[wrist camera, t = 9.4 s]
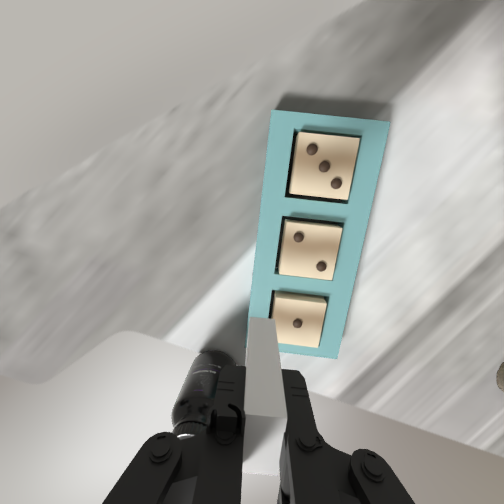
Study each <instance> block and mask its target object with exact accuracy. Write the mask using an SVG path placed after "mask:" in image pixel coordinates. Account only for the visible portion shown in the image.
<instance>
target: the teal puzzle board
mask: <svg viewBox="0 0 504 504" xmlns="http://www.w3.org/2000/svg"><path fill="white" fill-rule="evenodd" d="M389 127H390V122H388V121H378V120H368V119H359V118H349V117H339V116H329V115H319V114H310V113H300V112H290V111H280V110H271V119H270V128H269V137H268V145H267V154H266V163H265V172H264V181H263V190H262V198H261V207H260V216H259V225H258V234H257V243H256V252H255V260H254V269H253V278H252V287H251V296H250V305H249V313H248V322H247V331H246V340H245V348H247V339H248V329H249V319H250V317H257V318H268V315H269V308H270V300H271V293H272V290H279V291H287V292H296V293H304V294H313V295H321V296H324V299H325V301H326V303H327V305H326V310H325V315H324V320H323V325H322V330H321V335H320V340H319V345H318V348H315V347H307V346H299V345H291V344H283V343H278V348H279V352H284V353H292V354H300V355H308V356H316V357H324V358H332V359H337V357H338V353H339V348H340V344H341V339H342V335H343V330H344V326H345V322H346V317H347V313H348V308H349V304H350V299H351V295H352V290H353V286H354V282H355V277H356V273H357V268H358V264H359V259H360V255H361V251H362V246H363V242H364V237H365V233H366V228H367V224H368V220H369V215H370V211H371V206H372V202H373V197H374V193H375V189H376V184H377V180H378V175H379V171H380V166H381V162H382V158H383V153H384V149H385V144H386V140H387V135H388V131H389ZM299 132H304V133H314V134H323V135H333V136H343V137H352V138H360V141H359V146H358V151H357V156H356V161H355V166H354V171H353V176H352V181H351V186H350V191H349V196H348V200H344V199H342V203H338V202H329V201H320V200H311V199H302V198H293V197H285V190H286V183H287V175H288V168H289V161H290V153H291V146H292V139H293V133H297V134H298V133H299ZM282 216H290V217H299V218H308V219H317V220H326V221H335V222H338V226H339V227H341V228H342V233H341V238H340V243H339V248H338V253H337V258H336V263H335V268H334V273H333V278H332V280H324V279H316V278H307V277H299V276H290V275H282V274H279V269H278V268H275V264H276V256H277V249H278V242H279V234H280V227H281V220H282Z"/></svg>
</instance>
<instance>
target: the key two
mask: <svg viewBox="0 0 504 504" xmlns="http://www.w3.org/2000/svg"><path fill="white" fill-rule="evenodd" d="M341 233H342V228H341V227H339V226H338V225H334V224H325V223H316V222H307V221H298V220H289V219H285V223H284V230H283V237H282V244H281V252H280V259H279V266H278V269H279V274H282V275H290V276H299V277H307V278H316V279H324V280H332V278H333V273H334V268H335V263H336V258H337V253H338V248H339V243H340V238H341Z"/></svg>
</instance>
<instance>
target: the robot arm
mask: <svg viewBox="0 0 504 504" xmlns="http://www.w3.org/2000/svg"><path fill="white" fill-rule="evenodd" d="M279 467H280V480H281V482H280V488H279V494H278V500H277V504H415V503H414V501H413V500H412V498H411V497H410V495H409V494H408V493H407V491H406V489H405V488H404V486H403V485H402V484H401V482H400V481H399V479H398V478H397V476H396V475H395V473H394V472H393V470H392V469H391V467H390V466H389V465H388V464H387V462H386V461H385V460H384V459H383V458H382V457H381V456H379V455H378V454H376V453H375V452H373V451H370V450H368V449H358V450H356V451H354V452H353V454H352V456H351V455H349V454H346V453H344V452H342V451H339V450H337V449H335V448H333V447H331V446H330V445H328V444H327V443H326V442H325V441H324V439H323V437H322V436H321V435H320V434H319V432H318V430H317V428H316V424H315V419H314V415H313V411H312V407H311V403H310V399H309V394H308V390H307V386H306V382H305V379H304V377H303V376H302V375H301V373H300V372H299V371H297V370H287V369H281V363H280V355H279V348H278V340H277V332H276V324H275V319H268V318H257V317H250V319H249V329H248V339H247V349H246V361H245V366H235V365H225V366H224V368H223V369H222V370H221V371H220V374H219V379H218V385H217V390H216V395H215V400H214V405H213V406H212V407H211V408H210V409H209V411H208V414H207V425H206V429H205V430H204V431H202V432H201V433H200V434H198V435H196V436H193V437H190V438H186V439H182V440H180V439H179V437H178V436H177V435H175V434H173V433H170V432H162V433H157V434H155V435H154V436H152V437H150V438H149V439H148V440H147V441H146V442H145V443H144V444H143V446H142V447H141V448H140V450H139V451H138V453H137V454H136V456H135V457H134V459H133V460H132V461H131V463H130V464H129V466H128V467H127V468H126V470H125V471H124V473H123V474H122V476H121V477H120V479H119V480H118V482H117V483H116V484H115V486H114V487H113V489H112V490H111V491H110V493H109V494H108V496H107V497H106V499H105V500H104V502H103V503H102V504H241V503H240V502H241V483H242V473H252V474H264V475H275V476H278V473H279Z"/></svg>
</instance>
